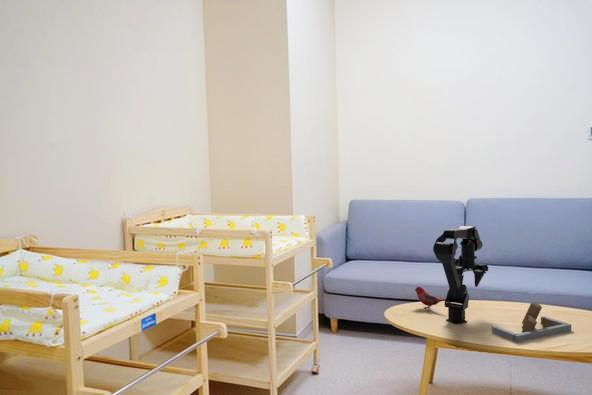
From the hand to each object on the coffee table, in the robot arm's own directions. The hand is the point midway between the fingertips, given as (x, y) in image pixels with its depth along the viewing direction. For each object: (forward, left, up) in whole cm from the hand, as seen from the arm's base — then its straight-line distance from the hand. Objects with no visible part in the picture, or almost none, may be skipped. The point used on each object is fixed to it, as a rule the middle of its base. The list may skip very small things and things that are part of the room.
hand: (468, 287), depth 232 cm
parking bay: (+5, -30, -12) cm, 33 cm away
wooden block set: (+8, -29, -12) cm, 32 cm away
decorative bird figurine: (-10, +14, -12) cm, 21 cm away
